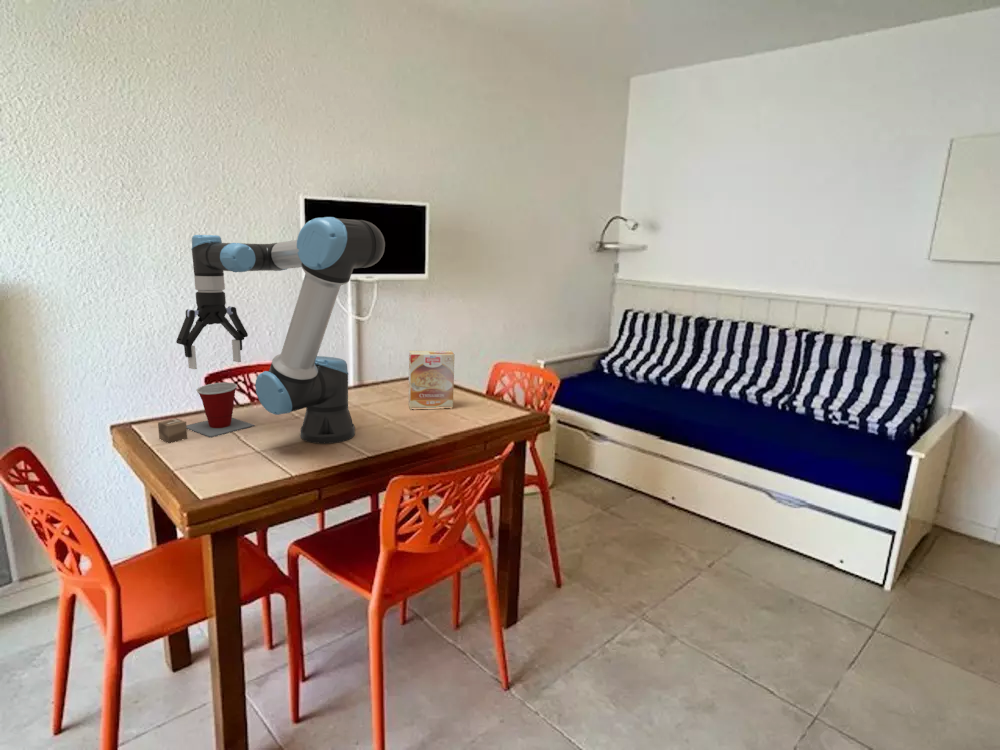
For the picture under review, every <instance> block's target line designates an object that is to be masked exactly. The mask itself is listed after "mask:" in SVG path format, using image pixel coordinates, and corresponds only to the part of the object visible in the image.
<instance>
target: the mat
mask: <svg viewBox="0 0 1000 750" xmlns="http://www.w3.org/2000/svg"><path fill="white" fill-rule="evenodd" d="M252 426H253V427H255V424H253V423H251V422H247V421H244V420H240V419H237V418H234V417H232V420H231V425H230V426H228V427H224V428H212V427H210V426H209V423H208V419H207V420H204V421H200V422H195V423H191V424H186V428H187V430H188V429H189V430H188V431H190V430H192V431H191V432H193V431H194V432H193V433H196V432H197V433H196V434H199V433H200V435H202V436H204V435H205V437H207V436H208V438H210V437H211V438H215V437H218V435H219V436H222V434H223V435H226V434H229V432H230V433H233V431H234V432H238V431H241V429H242V430H245V429H249V428H252ZM237 430H238V431H237ZM214 436H215V437H214Z"/></svg>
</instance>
